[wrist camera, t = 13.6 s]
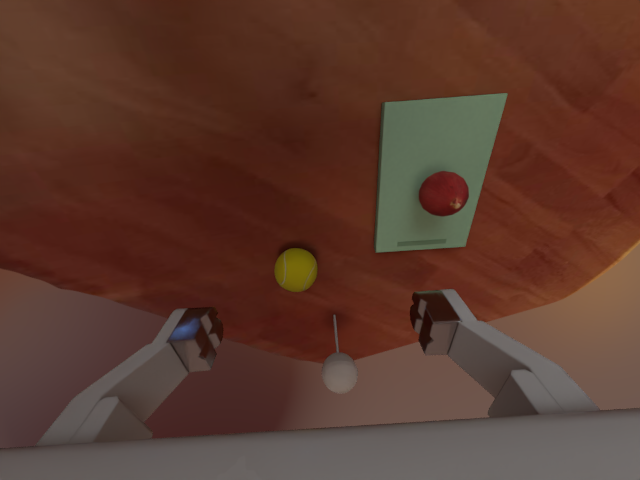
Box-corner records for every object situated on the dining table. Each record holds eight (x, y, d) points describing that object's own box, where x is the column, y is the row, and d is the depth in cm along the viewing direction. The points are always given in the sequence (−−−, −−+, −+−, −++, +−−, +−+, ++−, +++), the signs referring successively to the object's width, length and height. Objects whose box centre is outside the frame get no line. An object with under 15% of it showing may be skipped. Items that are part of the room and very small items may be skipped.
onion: (458, 168, 33) (495, 185, 26) (441, 206, 36) (471, 231, 29) (418, 162, 33) (446, 178, 26) (405, 201, 36) (427, 225, 29)
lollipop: (325, 302, 47) (329, 376, 34) (352, 307, 48) (366, 382, 35) (316, 322, 50) (317, 398, 37) (342, 327, 51) (352, 403, 38)
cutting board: (381, 102, 30) (385, 102, 29) (499, 93, 30) (508, 93, 29) (373, 248, 41) (375, 252, 40) (460, 242, 41) (465, 247, 40)
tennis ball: (322, 246, 41) (323, 271, 35) (310, 277, 44) (310, 304, 38) (282, 236, 40) (276, 260, 34) (274, 268, 43) (267, 295, 37)
